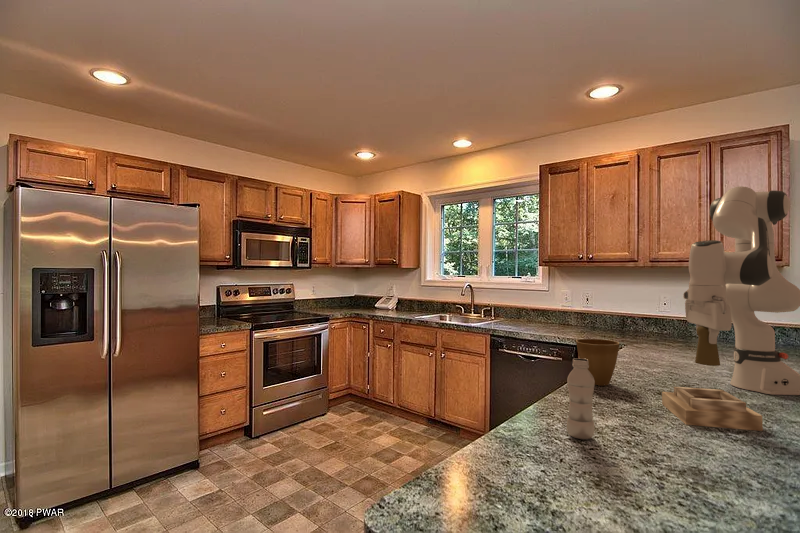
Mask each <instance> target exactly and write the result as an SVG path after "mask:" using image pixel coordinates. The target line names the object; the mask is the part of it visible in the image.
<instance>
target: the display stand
mask: <svg viewBox="0 0 800 533" xmlns="http://www.w3.org/2000/svg"><path fill="white" fill-rule="evenodd" d="M661 393H662V394H661V403H662V406H663V407H665V408H666V409H667V410H668V411H670V413H672V414H673V415H674V416H675V417H677V419H678V420H680V421H681V422H682V423H684V424H685V426H687V425H688V426H697V427H698V426H700V427H710V428H724V429H735V430H746V431H759V432H763V426H764V424H763V415H762V414H760V413H758V412H756V411H754V410H753V409H751V408H749V407H747V403H746V402H745V401H744V400H742V399H740V398H737V396H734V395H732V394H731V393H729V392H727V391H725V390H724V389H717V388H715V389H714V388H701V387H700V388H699V387H697V388H696V387H683V386H673V392H672V391H671V392H670V391H661Z"/></svg>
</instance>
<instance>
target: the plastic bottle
mask: <svg viewBox="0 0 800 533" xmlns="http://www.w3.org/2000/svg"><path fill="white" fill-rule="evenodd" d="M572 367H573V369H571V371H570V372H569V374H568V375H567V380H566V381H567V389H568V397H569V398H568V399H569V406H568V408H569V409H568V417H567V420H566V421H567V422H566V430H567V433H568V435H569V436H570V437H572V438H575V439H578V440H590V439H592V438H593V437H594V435H595V432H596V431H595V430H596V428H595V422H594V416H593V415H594V413H593V398H594V390H595V386H596V385H595V381H594V378H593V376H592V375H591V373H590V372H589V371H588V368H589V365H588V360H587V359H580V358H579V357H578V358H573V359H572Z"/></svg>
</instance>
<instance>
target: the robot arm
mask: <svg viewBox="0 0 800 533" xmlns="http://www.w3.org/2000/svg"><path fill="white" fill-rule="evenodd" d="M710 203H711V204H710V207H709V212H708V213H709V216H710V220H711V221H712V225H713V228H714V229H715V230H716V231H717V232H719V234H721V235H723V236H725V237H727V238H732V239H734V251H731V252H729V251H726V252H725V247H724V243H723V241H721V240H715V239H713V240H711V239H710V240H701V241H696V242H693V243H692V244H691V247H690V249H689V250H690V251H689V257H688V258H689V259H688V272H689V275H690V276H689V277H690V278H689V282H688V288H687V290H686V291H684V292H683V294H682V295H683V299H684V300H685V302H684V310H685V318H686V321H687V322H688V323H691V324H694V325H695V329H697V328H698V327H699V326H704V327H707V328H709V337H707V339H708V340H707V342H708V343H710V344H716V343H718V337H719V334H720V332H721V331H722V332H723V331H725V332H726V331H727V332H730V331H731V328H732V327H733V328H734V336H735V337H734V339H735V340H734V341H735V342H734V343H735V346H734V347H733V361H734V366H733V367H734V368H733V373H732V376H731V380H730V382H729V384H730V385H731V386H733V387H736V388H738V389H739V388H740V389H743V390H746V391H753V392H758V393H762V394H766V395H773V396H774V395H778V396H779V395H780V396H782V395H784V396H785V395H786V396H800V373H799V372H797V371H796V370H795V369H793V368H792V367H790V366H788V365H787V364H786V363H785V362H783V361H782V359H783V360H787V359H789V354H787V353H785V352H779V351H777V350H776V332H775V330H774V328H773V327H772V326H771V325H770V324H768V323H766V322H765V321H762V320H760V319H759V318H758V317H757V315H756V314H755V312H763V313H775V314H778V313H791V312H795V311H797V310H798V309H799V308H800V288H799V287H798V286H797V285H796V284H794V283H792V282H791V281H789V280H787V278H785V276H783V275H782V273H781V272H780V271H779V268H778V266H777V263H776V255H775V235H774V228H773V226H777V224H778V222H780V221H782V220H784V219H785V218H786V217H787V216H788V213H789V211H790V208H791V201H790V198H789V196H788V194H787V193H786V192H784V191H783V190H769V191H755V190H754V189H752V188H750V187H748V186H742V185H741V186H735V187H732V188H730V189H728V190H727V191H726V192H725V193H724V194H723V195H722V196H721V197H718V198H715V199H714V200H713V201H712V202H710ZM732 324H733V325H732ZM697 336H698V335H697ZM698 338H699V336H698Z"/></svg>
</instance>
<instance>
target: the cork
mask: <svg viewBox="0 0 800 533" xmlns="http://www.w3.org/2000/svg"><path fill="white" fill-rule="evenodd" d="M695 332H696V334H697V336H699V337H698V341H697V347H696V353H695V359H694V363H695V364H699V365H703V366H710V367H711V366H712V367H714V366H715V367H719V366H721V360H720V354H719V350H718V348H719V347H718V344H717V343H718V342H717V343H716V344H710V343H708V342H707V340H708V339H707V337H709V328H707V327H704V326H699V327H698V328H696V331H695Z"/></svg>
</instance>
